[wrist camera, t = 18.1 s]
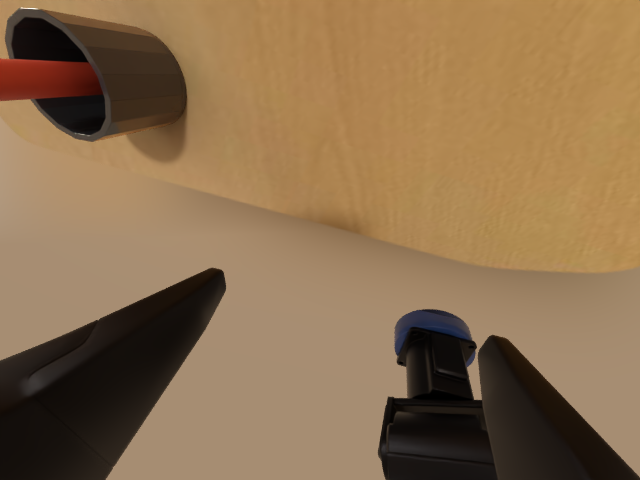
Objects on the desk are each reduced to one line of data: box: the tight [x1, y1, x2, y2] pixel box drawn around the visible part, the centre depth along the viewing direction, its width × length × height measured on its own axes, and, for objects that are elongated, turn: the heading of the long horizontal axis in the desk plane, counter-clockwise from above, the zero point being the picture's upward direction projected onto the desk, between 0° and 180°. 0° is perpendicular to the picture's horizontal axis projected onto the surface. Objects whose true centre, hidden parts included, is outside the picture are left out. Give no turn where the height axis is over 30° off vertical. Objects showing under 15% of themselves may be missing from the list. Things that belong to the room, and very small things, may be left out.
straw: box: [0, 59, 103, 101], centre depth 14 cm, size 2×2×9 cm
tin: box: [5, 8, 186, 142], centre depth 16 cm, size 6×6×6 cm
